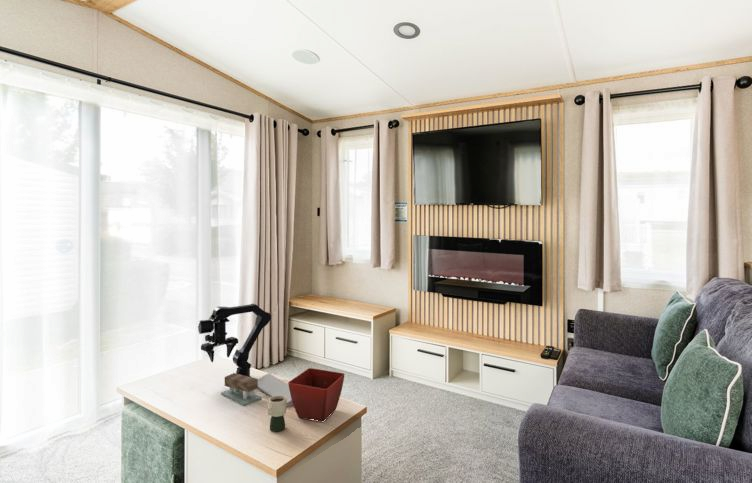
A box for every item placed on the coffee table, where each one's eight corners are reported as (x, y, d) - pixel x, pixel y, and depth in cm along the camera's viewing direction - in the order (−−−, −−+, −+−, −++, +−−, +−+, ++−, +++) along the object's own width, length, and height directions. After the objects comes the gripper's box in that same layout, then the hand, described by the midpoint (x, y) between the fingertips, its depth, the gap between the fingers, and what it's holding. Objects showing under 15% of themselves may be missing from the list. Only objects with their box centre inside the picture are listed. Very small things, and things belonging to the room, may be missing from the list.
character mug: (279, 421, 174) (279, 392, 174) (292, 425, 171) (292, 395, 170) (261, 432, 165) (261, 401, 164) (274, 437, 161) (274, 405, 161)
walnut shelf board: (257, 387, 197) (257, 378, 197) (248, 392, 192) (248, 383, 191) (234, 381, 204) (233, 373, 204) (224, 385, 199) (224, 377, 199)
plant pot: (326, 428, 169) (326, 389, 168) (287, 420, 175) (287, 382, 175) (345, 408, 187) (345, 373, 186) (309, 402, 193) (309, 367, 192)
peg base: (238, 388, 208) (238, 378, 208) (261, 399, 196) (261, 389, 196) (221, 394, 201) (220, 384, 200) (243, 406, 188) (243, 395, 188)
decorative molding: (287, 413, 188) (304, 401, 195) (284, 404, 187) (302, 392, 193) (254, 390, 213) (271, 380, 220) (252, 382, 212) (268, 372, 219)
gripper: (227, 324, 225) (227, 352, 226) (195, 331, 210) (195, 361, 211) (238, 328, 218) (238, 356, 219) (206, 335, 203) (206, 365, 204)
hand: (220, 359), depth 213 cm, fingers open, 9 cm apart
